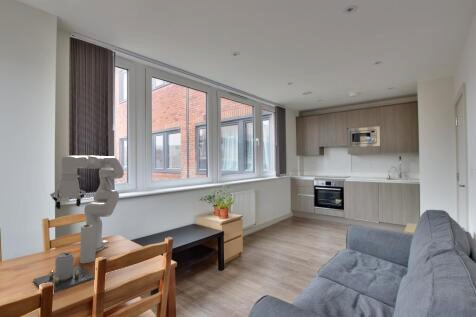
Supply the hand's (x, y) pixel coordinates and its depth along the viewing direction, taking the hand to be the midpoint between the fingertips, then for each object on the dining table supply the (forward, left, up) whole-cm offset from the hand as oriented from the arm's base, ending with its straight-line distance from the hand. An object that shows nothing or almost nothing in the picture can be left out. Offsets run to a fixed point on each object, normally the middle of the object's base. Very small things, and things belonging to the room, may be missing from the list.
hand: (68, 207), depth 141 cm
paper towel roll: (-9, +3, -34) cm, 35 cm away
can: (+7, +18, -32) cm, 38 cm away
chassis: (+7, +18, -33) cm, 38 cm away
